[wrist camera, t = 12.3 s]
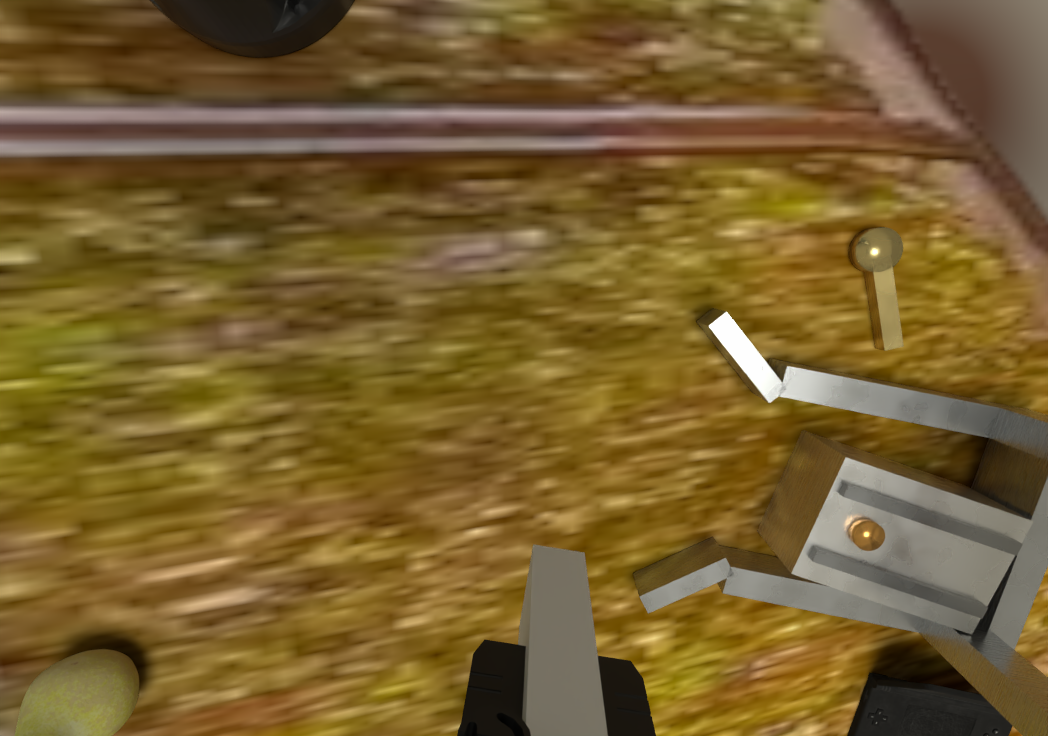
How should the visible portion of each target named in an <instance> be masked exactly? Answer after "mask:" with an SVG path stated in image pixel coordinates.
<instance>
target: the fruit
mask: <svg viewBox="0 0 1048 736" xmlns="http://www.w3.org/2000/svg"><path fill="white" fill-rule="evenodd" d="M138 694H139V675H138V672H137V669H136V667H135V665H134V663H133V661H132V660H131V659H130V658H129V657H128V656H127V655H125V654H123V653H121V652H118V651H114V650H107V649H97V650H89V651H85V652H81V653H78V654H75V655H72V656H70V657H67V658H65V659H63V660H61V661H59V662H57V663H55V664H53V665H52V666H50V667H49V668H47V669H46V670H45V671H43V672H42V673H41V674H40V675H39V676H38V677H37V678H36V679H35V680H34V681H33V682H32V684H31V686H30V687H29V689H28V691H27V692H26V695H25V697H24V700H23V702H22V705H21V709H20V713H19V719H18V722H17V727H16V732H15V736H112V735H114V734H115V733H116V732H117V731H118V730H119V729H120V728H121V727H122V726H123V725H124V724H125V722H126V721H127V720H128V718H129V717H130V715H131V714H132V712H133V710H134V708H135V705H136V702H137V699H138Z"/></svg>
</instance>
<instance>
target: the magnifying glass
mask: <svg viewBox="0 0 1048 736" xmlns="http://www.w3.org/2000/svg"><path fill="white" fill-rule="evenodd" d="M902 252H903V243H902V240H901V238H900V236H899V235H898V233H897V232H895V231H894V230H892V229H890V228H885V227H880V228H872V229H866V230H864V231H862V232H860V233H858V234H857V235H856V236H855V237H854V238H853V240H852V241H851V243H850V246H849V252H848V253H849V259H850V262H851V263H852V265H853V266H854V267H855V268H856V269H858V270H860V271H863V272H864V276H865V283H866V289H867V296H868V303H869V310H870V317H871V323H872V330H873V337H874V344H875V348H876V349H880V350H884V351H886V350H890V349H894V348H899V347H903V339H902V332H901V325H900V317H899V310H898V303H897V296H896V288H895V281H894V274H893V267H894V266H895V265H896V264H897V263H898V261H899V260H900V258H901V255H902Z"/></svg>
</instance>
